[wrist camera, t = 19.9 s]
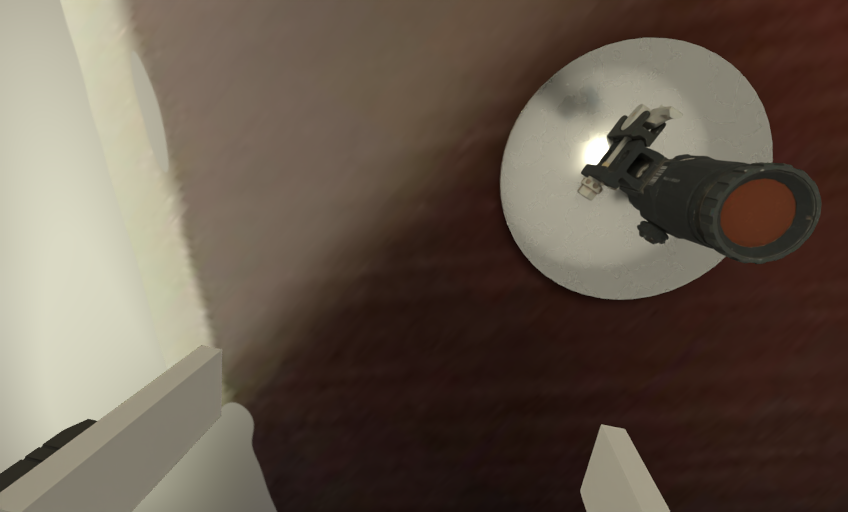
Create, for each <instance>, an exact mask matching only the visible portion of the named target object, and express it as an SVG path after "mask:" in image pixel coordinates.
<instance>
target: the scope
mask: <svg viewBox="0 0 848 512" xmlns="http://www.w3.org/2000/svg"><path fill="white" fill-rule="evenodd" d="M682 116H683V113H681V112H680V111H678V110H677V109H675V108H674V107H672V106H668V107H664V106H663V105H660V107H659V108H655V109H652V110H651V109H649V108H648V107H647V106H645V105H644V104H640V105H639V106H637V107H636V108H635V109H634V110H633V111H632V113H631V114H630V115H629V116H626V115H624V116H622V117H621V118H620V119H619V120H618V122H617V123H616V124H615V126H614V127H613V128H612V130H611V131H610V132H609V134H608V135H607V137H608V138H616V139H618V140H619V141H616V142H614V143H613V144H612V145H611V147H610V148H609V149H608V151H607V152H606V153H605V154H604V156H603V157H602V158H601V160H600V161H599V162H598V164H597V165H592V164H586V166H585V167H584V168H583V170H582V171H581V174H582V175H584V176H585V178H583V179H582V181H581V186H580V187H579V188H578V190H577V192H578V193H579V194H580V195H582V196H583V197H585V198H587V199H588V200H593V199H594V198H595V196H596V195H597V194H600V193H601V192H602V191H603V188H602V186H603V185H605V186H606V187H608V188H609V189H612V190H616V191H617V190H618V188H619V189H620V190H622V191H623V192H624V193H626V194H627V195H628V198H629V200H630V203H631V204H632V205H633V206H634V207H635V208H636V209H637V210H639V211H640V216H641V217H643V218H644V219H645V220H647V221H648V222H647V221H641V222H640V225H637V229H638V230H639V236H640V237H643V238H644V239H645V240H646V241H648V242H650V243H652V244H657V243H659V244H665V241H666V240H668V239H669V237H668V235H667V234H669V235H672V236H674V237H676V238H678V239H685V240H688V241H691V242H694V243H697V244H699V245H702V246H705V247H708V248H711V249H714V250H715V251H717V252H718V253H720V254H722V255H724V256H727V257H729V258H731V259H734V260H736V261H738V262H743V263H748V262H752V263H755V264H762V263H766V262H768V261H772V260H774V261H776V260H778V259H781V258H783V257H784V256H786V255H788V254H789V253H791V252H794V251H795V250H797V249H798V248H799V247H800V246H801V245H802V244H803V243H804V242H805V241H806V240H807V239H808V238H809V237H810V235H811V234H812V233H813V231H814V229H815V226H816V224H817V223H818V220H819V217H820V211H821V197H820V194H819V190H818V187H817V185H816V184H815V182H814V181H812V180H811V179H810V177H809V176H808V174H807V173H806V172H804V171H803V170H801V169H795V168H793V167H792V165H788V164H784V163H763V162H759V163H751V164H748V163H743V162H733V161H723V160H715V159H713V158H710V157H708V156H693V155H689V154H684V155H678V156H675V157H674V158H673V159H668V158H666V157H664V156H663V155H662V154H660V153H659V152H657V151H654V150H652V149H649V148H647V147H650V146H651V144H652V143H653V142H654V141H655V139H656V138H657V137H658V135H659V134H660V133H661V132H662V130H663V129H664V128H665V126H666V123H665V122H666V121H668V120H670V119H678V118H681V117H682ZM650 129H651V130H650ZM649 130H650V131H649ZM666 233H667V234H666Z"/></svg>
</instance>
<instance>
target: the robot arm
mask: <svg viewBox="0 0 848 512" xmlns="http://www.w3.org/2000/svg"><path fill="white" fill-rule="evenodd" d="M221 397H222V349H218V348H213V347H208V346H203V345H201V346H200V347H198V348H197V349H196V350H194V351H193V352H192V353H190V354H189V355H188V356H186V357H185V358H183V359H182V360H181V361H179V362H178V363H177V364H175V365H174V366H173V367H171V368H170V369H168V370H167V371H166V372H164V373H163V374H162V375H160V376H159V377H157V378H156V379H155V380H153V381H152V382H151V383H149V384H148V385H147V386H145V387H144V388H143V389H141V390H140V391H139V392H137V393H136V394H134V395H133V396H132V397H130V398H129V399H127V400H126V401H125V402H124V403H122V404H121V405H119V406H118V407H117V408H115V409H114V410H112V411H111V412H110V413H108V414H107V415H106V416H104V417H103V418H101V419H100V420H99V421H95V420H90V419H87V420H85V421H83V422H81V423H79V424H76V425H74V426H72V427H69V428H67V429H65V430H63V431H61V432H60V433H59V434H57V435H56V436H54V437H53V438H51V439H50V440H48V441H47V442H46V443H44V444H43V446H42V447H41V448H40V447H39V448H37V449H35V450H34V451H33V452H31V453H30V454H28V455H27V456H26V457H25V459H24V460H20V461H18V462H17V463H15V464H14V465H12V466H11V467H9V468H8V469H7V470H5V471H4V472H2V473H1V474H0V512H132V511H133V510H134V509H135V508H136V507H137V505H138V504H139V503H140V502H141V501H142V500H143V499H144V498H145V497H146V496H147V495H148V494H149V493H150V492H151V490H152V489H153V488H154V487H155V486H156V485H157V484H158V483H159V482H160V481H161V480H162V479H163V477H165V475H166V474H167V473H168V472H169V471H170V470H171V469H172V468H173V467H174V466H175V465H176V464H177V463H178V462H179V460H180V459H181V458H182V457H183V456H184V455H185V454H186V453H187V452H188V451H189V450H190V449H191V448H192V447H193V445H194V444H195V443H196V442H197V441H198V440H199V439H200V438H201V437H202V436H203V435H204V434H205V433H206V431H207V430H208V429H209V428H210V427H211V426H212V425H213V424H214V423H215V422H216V421H217V420H218V419H219V418H220V416H221ZM580 492H581V496H582V499H583V502H584V505H585V508H586V511H587V512H670V510H669V508H668V507H667V505H666V503H665V501H664V499H663V498H662V496H661V494H660V492H659V490H658V488H657V487H656V485H655V483H654V481H653V479H652V477H651V476H650V474H649V472H648V470H647V468H646V467H645V465H644V463H643V461H642V459H641V457H640V456H639V454H638V452H637V450H636V448H635V447H634V445H633V443H632V441H631V439H630V437H629V436H628V434H627V432H626V430H625V429H622V428H617V427H612V426H607V425H602V424H601V427H600V430H599V433H598V436H597V439H596V443H595V446H594V449H593V452H592V455H591V458H590V461H589V465H588V468H587V471H586V474H585V477H584V480H583V483H582V487H581V490H580Z"/></svg>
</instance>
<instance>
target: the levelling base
mask: <svg viewBox="0 0 848 512" xmlns="http://www.w3.org/2000/svg"><path fill="white" fill-rule="evenodd" d="M640 104H644V105H645V106H647V107H648V108H649V109H651V110H652V109H655V108H659V107H660V105H663V106H664V107H668V106H672V107H674V108H675V109H677V110H678V111H680V112H681V113H683V116H682V117H681V118H678V119H670V120H668V121H666V122H665V123H666V126H665V128H664V129H663V130H662V132H661V133H660V134H659V135H658V137H657V138H656V139H655V141H654V142H653V143H652V144H651V146H650V147H647V148H649V149H652V150H654V151H657V152H659V153H660V154H662V155H663V156H664V157H666V158H668V159H673V158H674V157H675V156H678V155H684V154H689V155H693V156H708V157H710V158H713V159H715V160H723V161H733V162H743V163H748V164H751V163H759V162H763V163H772V160H773V154H772V137H771V131H770V125H769V122H768V119H767V116H766V113H765V110H764V107H763V105H762V103H761V101H760V99H759V97H758V95H757V93H756V91H755V90H754V89H753V87H752V86H751V85H750V83H749V82H748V81H747V79H746V78H745V77H744V76H743V75H742V74H741V73H740V72H739V71H738V70H737V69H736V68H735V67H734V66H733V65H732V64H730V63H729V62H727V61H726V60H724V59H723V58H722V57H720V56H719V55H717V54H715V53H713V52H711V51H709V50H707V49H705V48H703V47H701V46H698V45H695V44H691V43H688V42H685V41H680V40H674V39H668V38H639V39H631V40H624V41H621V42H617V43H613V44H609V45H606V46H603V47H601V48H598V49H596V50H593V51H591V52H588V53H587V54H585V55H583V56H581V57H579V58H578V59H576V60H574V61H572V62H571V63H569V64H568V65H566V66H565V67H564V68H562V69H561V70H560V71H558V72H557V73H556V74H554V75H553V76H552V77H551V78H550V79H549V80H548V81H547V82H546V83H545V84H543V85H542V86H541V87H540V88H539V89H538V90H537V92H536V93H535V94H534V95H533V96H532V97H531V99H530V100H529V101H528V102H527V104H526V105H525V107H524V108H523V110H522V111H521V113H520V114H519V116H518V117H517V119H516V121H515V123H514V125H513V127H512V129H511V131H510V134H509V137H508V139H507V142H506V145H505V148H504V152H503V157H502V161H501V168H500V180H499V181H500V198H501V203H502V209H503V213H504V216H505V219H506V222H507V225H508V227H509V229H510V231H511V233H512V236H513V238H514V240H515V242H516V243H517V245H518V246H519V248H520V249H521V251H522V252H523V254H524V255H525V256H526V257H527V258H528V260H529V261H530V262H531V263H532V264H533V265H534V266H535V267H536V268H537V269H538V270H540V271H541V272H542V273H543V274H544V275H545V276H547V277H548V278H550V279H551V280H553V281H555V282H556V283H558V284H560V285H562V286H564V287H566V288H568V289H570V290H572V291H575V292H578V293H581V294H584V295H588V296H593V297H598V298H604V299H617V300H620V299H637V298H643V297H650V296H654V295H658V294H661V293H665V292H668V291H671V290H673V289H676V288H678V287H681V286H683V285H685V284H687V283H689V282H691V281H693V280H694V279H696V278H698V277H700V276H701V275H703V274H704V273H706V272H707V271H709V270H710V269H711V268H713V267H714V266H715V265H717V264H718V263H719V262H720V261H721V260H722V259H723V258H725V257H726V256H724V255H722V254H720V253H718V252H717V251H715V250H714V249H711V248H708V247H705V246H702V245H699V244H697V243H694V242H691V241H688V240H685V239H678V238H676V237H674V236H672V235H669V234H667V233H666V234H667V235H668V237H669V239H668V240H666V241H665V244H659V243H657V244H652V243H650V242H648V241H646V240H645V239H644V238H643V237H640V236H639V230H638V229H637V225H640V222H641V221H647V220H645V219H644V218H643V217H641V216H640V211H639V210H637V209H636V208H635V207H634V206H633V205H632V204H631V203H630V200H629V198H628V195H627V194H626V193H624V192H623V191H622V190H620V189H619V188H618V190H617V191H616V190H612V189H609V188H608V187H606V186H605V185H603V186H602V188H603V191H602V192H601V193H600V194H597V195H596V196H595V198H594V199H593V200H588V199H587V198H585V197H583V196H582V195H580V194H579V193H578V192H577V190H578V188H579V187H580V186H581V181H582V179H583V178H585V176H584V175H582V174H581V171H582V170H583V168H584V167H585V166H586V164H592V165H597V164H598V162H599V161H600V160H601V158H602V157H603V156H604V154H605V153H606V152H607V151H608V149H609V148H610V147H611V145H612V144H613V143H614V142H616V141H619V140H618V139H616V138H608V137H607V135H608V134H609V132H610V131H611V130H612V128H613V127H614V126H615V124H616V123H617V122H618V120H619V119H620V118H621V117H622V116H624V115H626V116H629V115H630V114H631V113H632V111H633V110H634V109H635V108H636V107H637V106H639V105H640ZM650 130H651V129H650ZM650 130H649V131H650ZM647 222H648V221H647Z"/></svg>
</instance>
